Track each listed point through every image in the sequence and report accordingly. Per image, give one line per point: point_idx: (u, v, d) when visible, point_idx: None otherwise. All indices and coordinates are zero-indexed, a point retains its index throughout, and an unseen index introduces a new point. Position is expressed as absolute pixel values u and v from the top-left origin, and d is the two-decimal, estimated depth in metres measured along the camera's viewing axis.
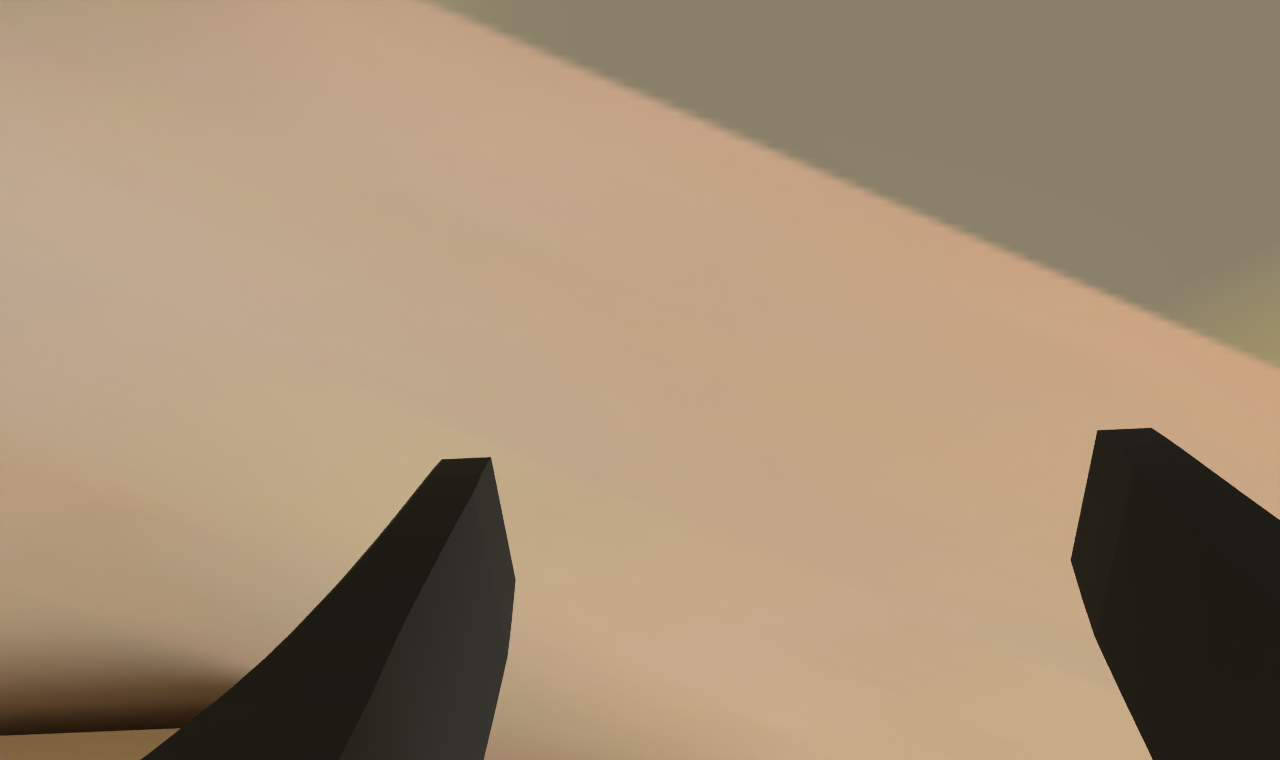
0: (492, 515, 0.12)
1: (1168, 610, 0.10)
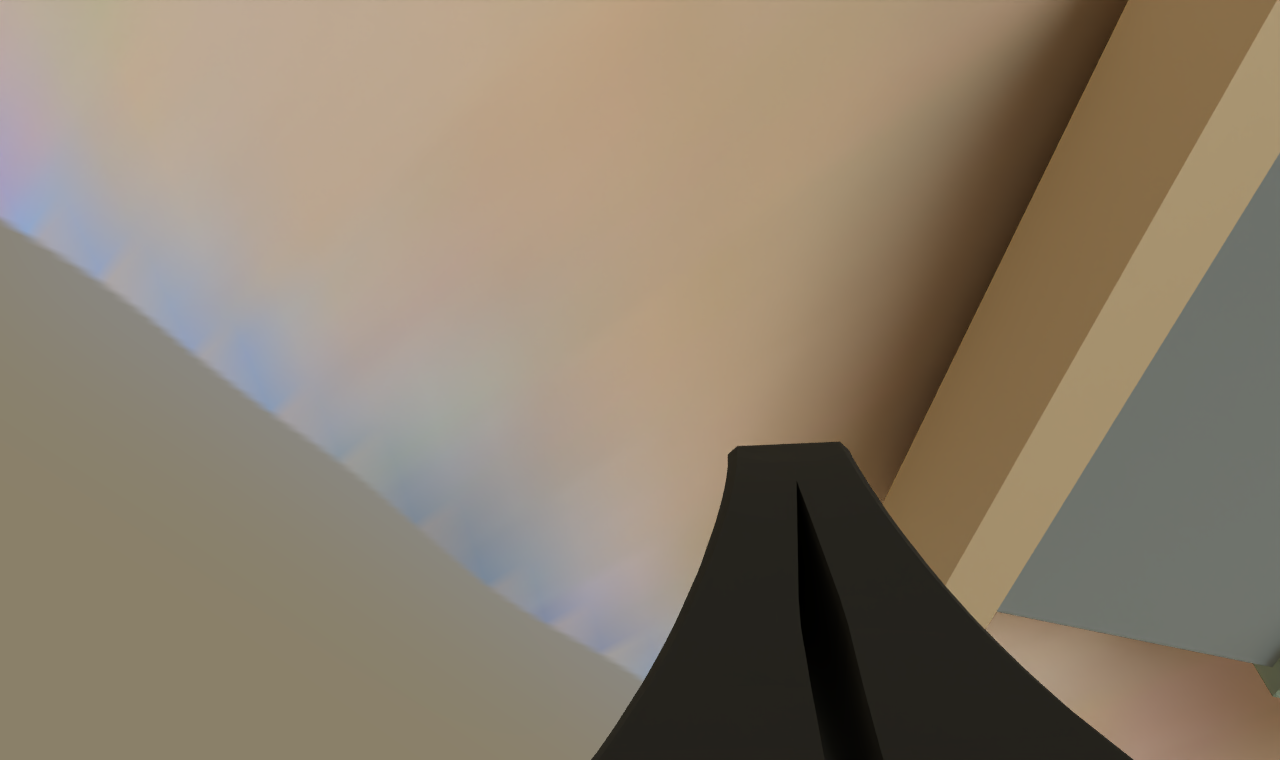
0: None
1: (816, 622, 0.10)
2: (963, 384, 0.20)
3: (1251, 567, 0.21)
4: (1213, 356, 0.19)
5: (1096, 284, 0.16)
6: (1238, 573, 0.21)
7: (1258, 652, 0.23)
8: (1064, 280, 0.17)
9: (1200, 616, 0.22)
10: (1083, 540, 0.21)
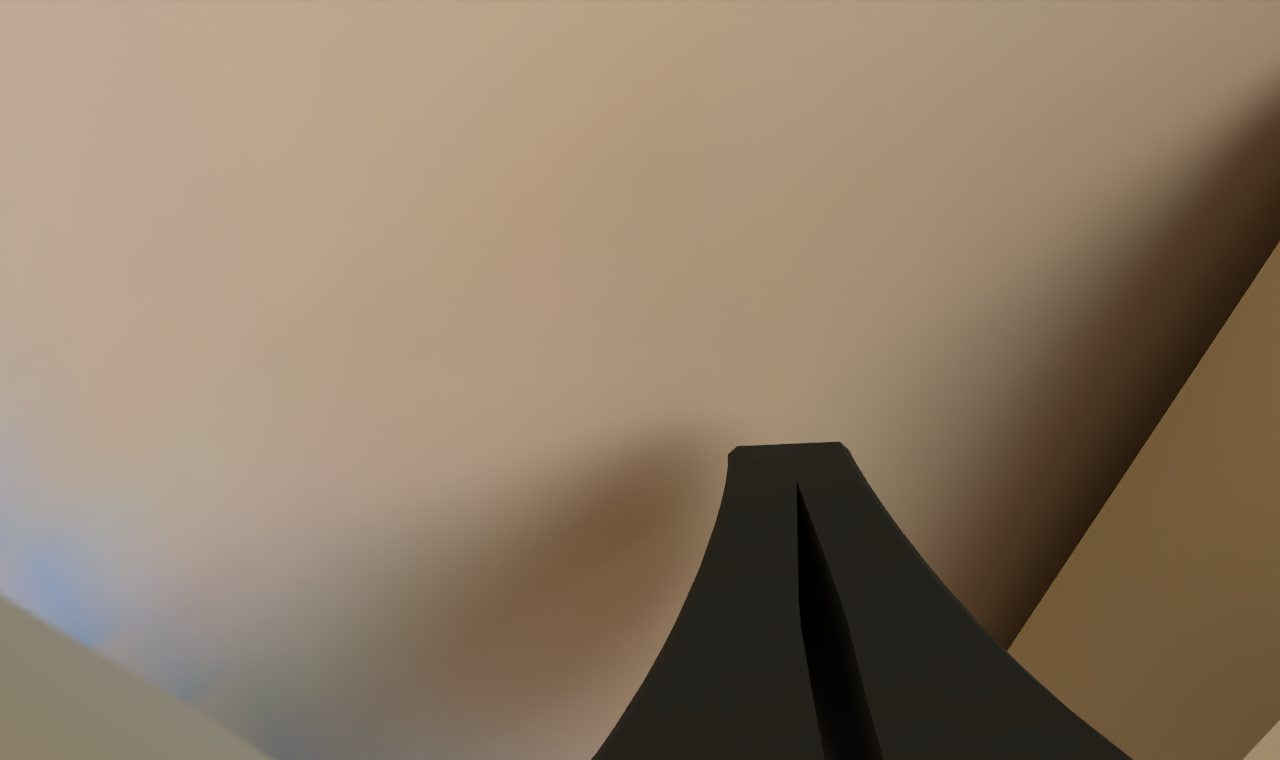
0: None
1: (816, 622, 0.10)
2: (1045, 671, 0.14)
3: None
4: None
5: None
6: None
7: None
8: (1229, 591, 0.11)
9: None
10: None
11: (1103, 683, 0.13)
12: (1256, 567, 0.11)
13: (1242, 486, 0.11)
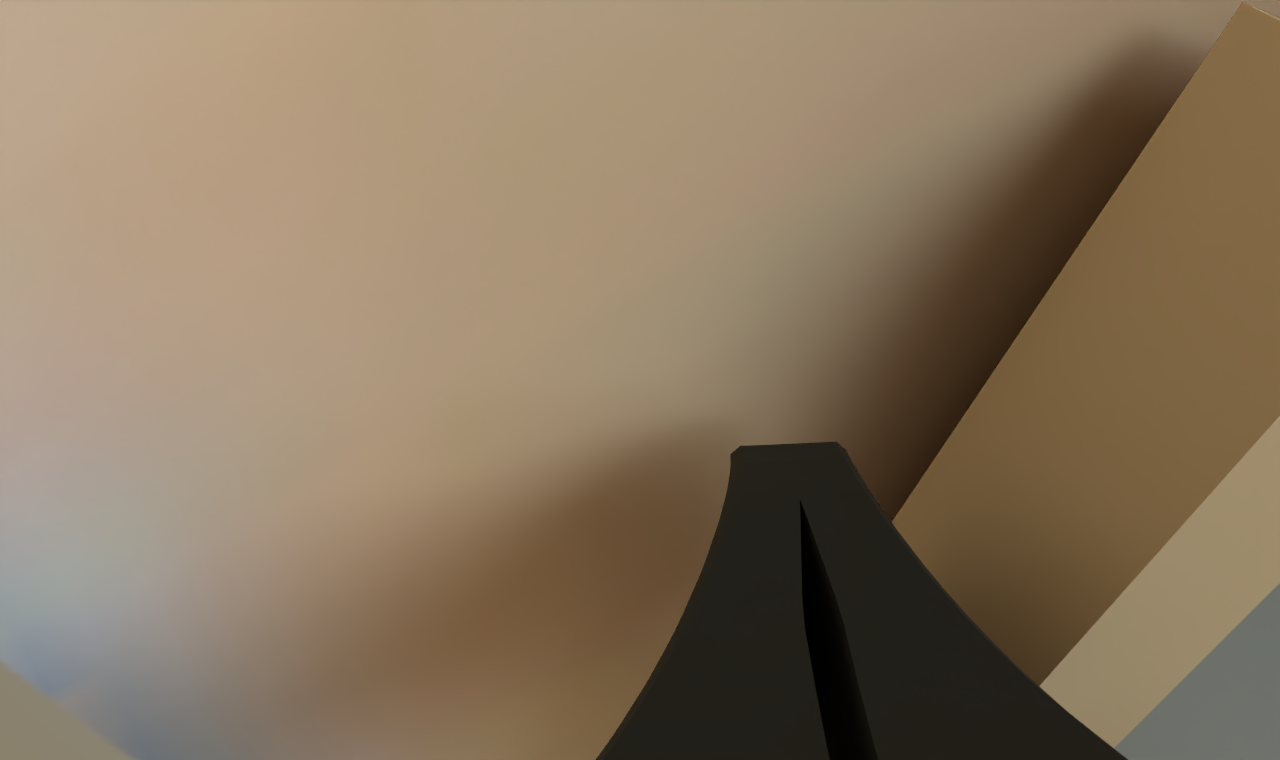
0: None
1: (812, 622, 0.10)
2: None
3: None
4: (1213, 665, 0.12)
5: (1066, 599, 0.10)
6: None
7: None
8: (1014, 559, 0.11)
9: None
10: None
11: None
12: (1038, 536, 0.11)
13: (1037, 456, 0.11)
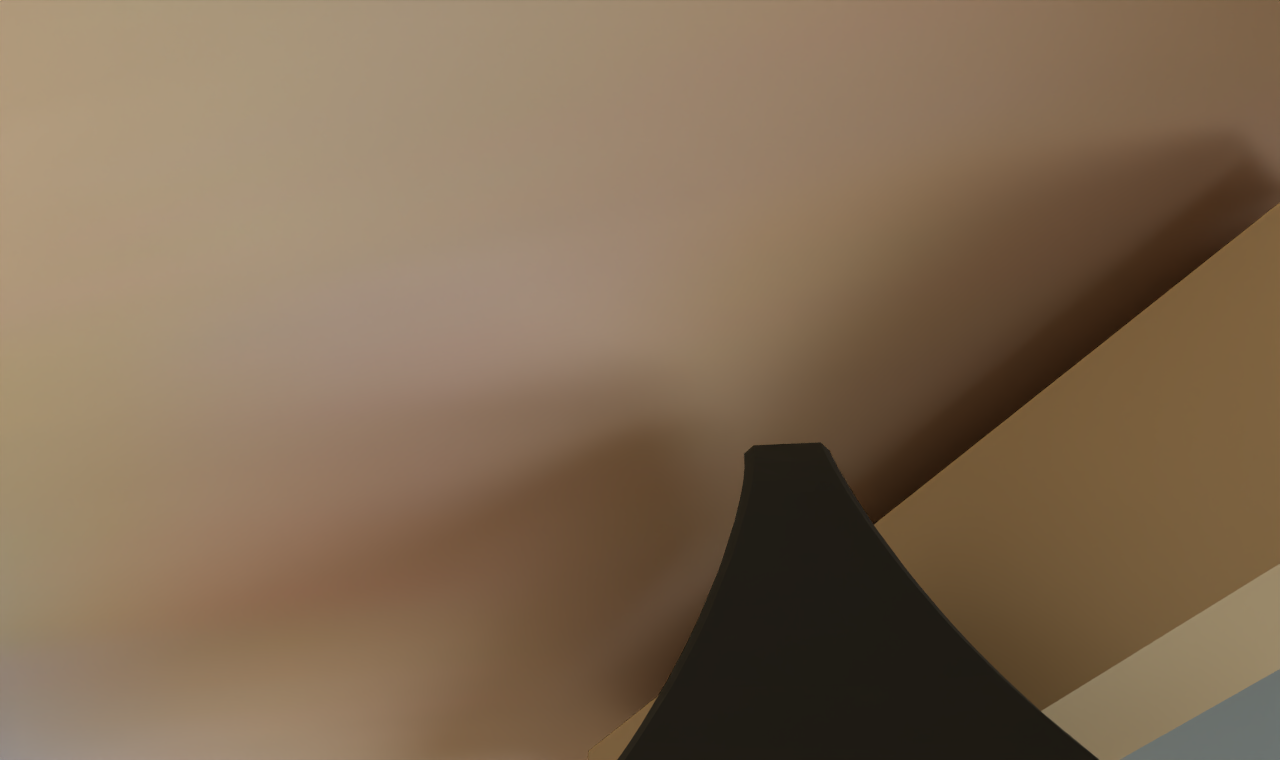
0: None
1: None
2: None
3: None
4: None
5: (1066, 647, 0.10)
6: None
7: None
8: (1006, 600, 0.11)
9: None
10: None
11: None
12: (1041, 583, 0.11)
13: (1049, 509, 0.12)
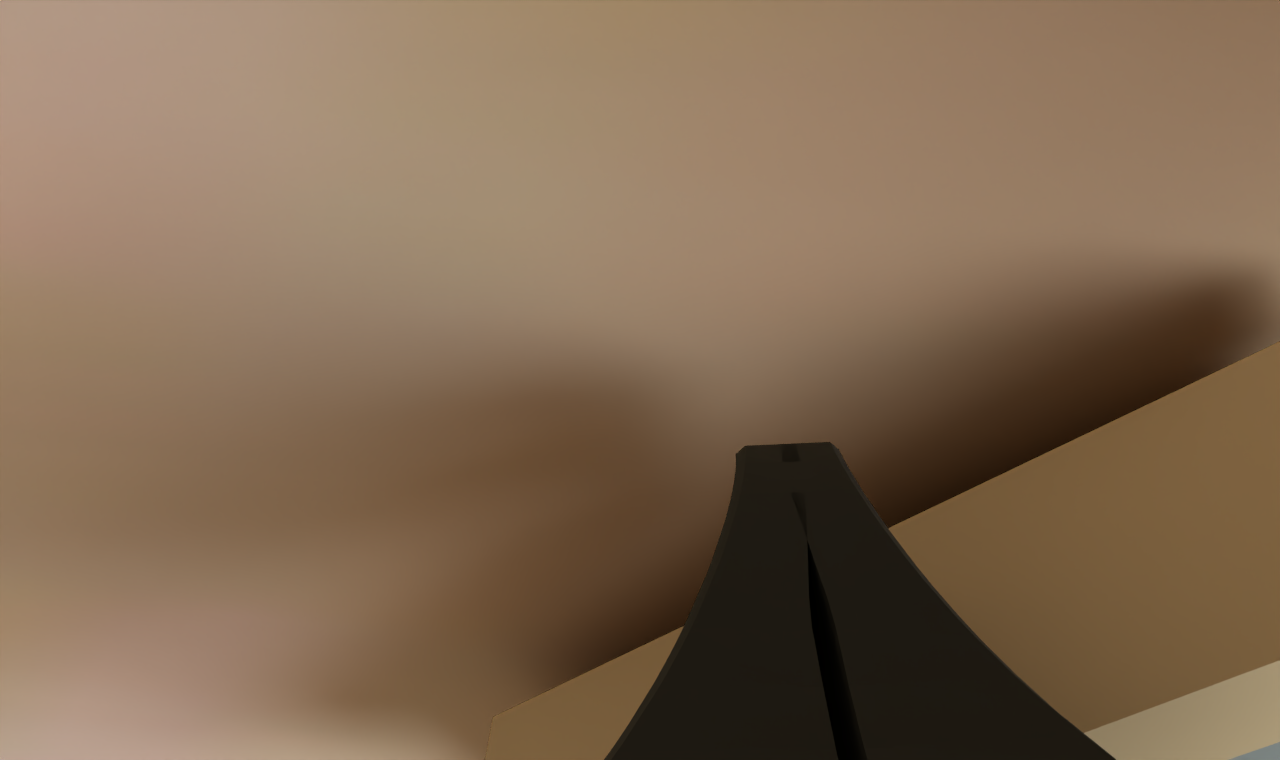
0: None
1: None
2: None
3: None
4: None
5: (1051, 700, 0.11)
6: None
7: None
8: (989, 644, 0.12)
9: None
10: None
11: None
12: (1028, 635, 0.11)
13: (1042, 567, 0.12)
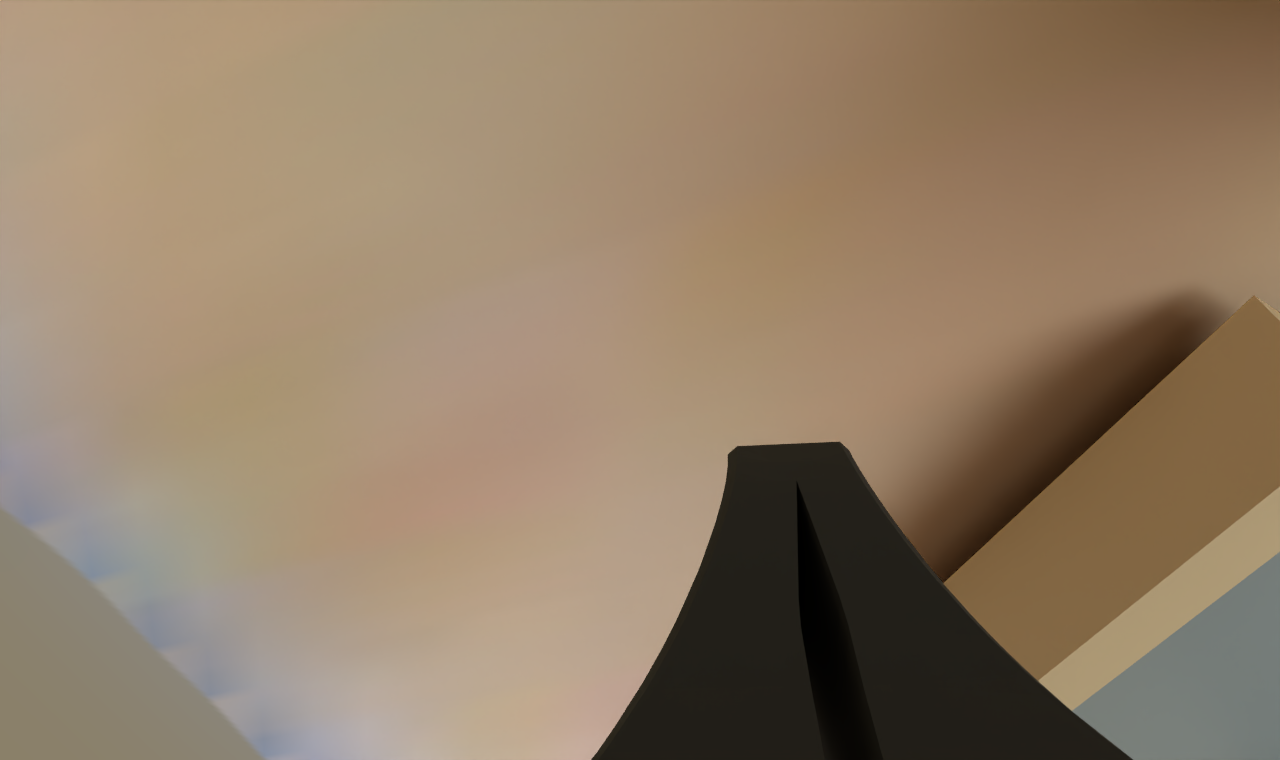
0: None
1: (816, 622, 0.10)
2: (962, 602, 0.23)
3: None
4: (1170, 638, 0.22)
5: (1125, 583, 0.19)
6: None
7: None
8: (1091, 561, 0.20)
9: None
10: None
11: (1002, 608, 0.22)
12: (1109, 550, 0.20)
13: (1110, 509, 0.21)
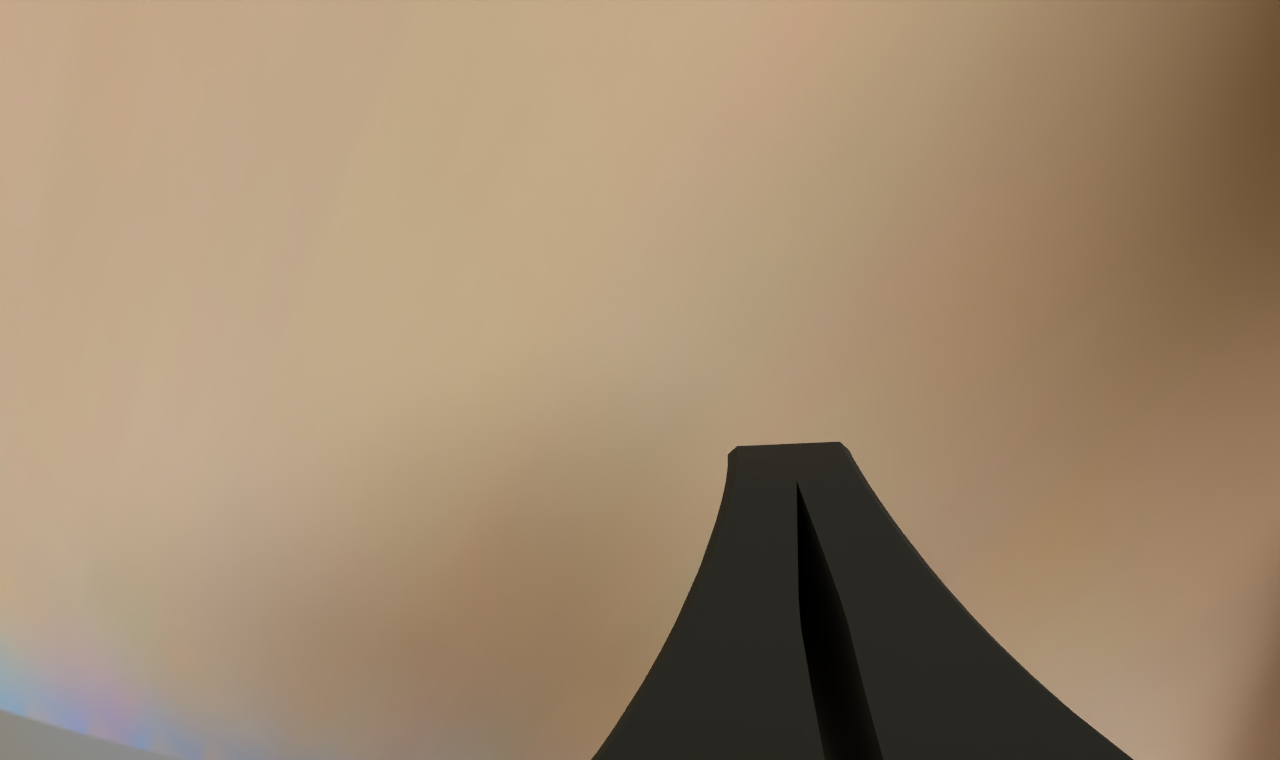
0: None
1: (816, 622, 0.10)
2: None
3: None
4: None
5: None
6: None
7: None
8: None
9: None
10: None
11: None
12: None
13: None
